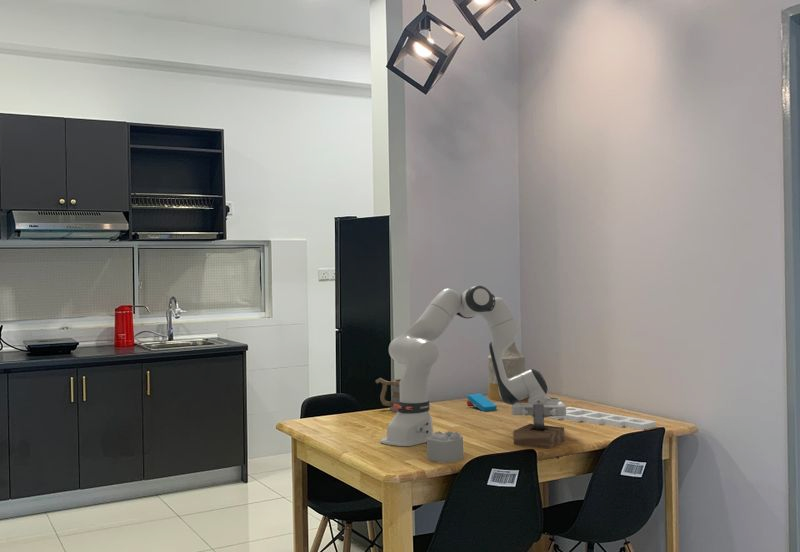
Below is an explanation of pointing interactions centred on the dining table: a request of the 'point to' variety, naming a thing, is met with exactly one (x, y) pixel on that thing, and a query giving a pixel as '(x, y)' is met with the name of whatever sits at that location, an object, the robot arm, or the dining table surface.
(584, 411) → the holder
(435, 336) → the robot arm
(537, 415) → the dark grey rounded rod
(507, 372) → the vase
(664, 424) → the dining table surface
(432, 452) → the lumpy-topped squat cylinder
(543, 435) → the socket block
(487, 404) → the blue and red block
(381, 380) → the tankard
